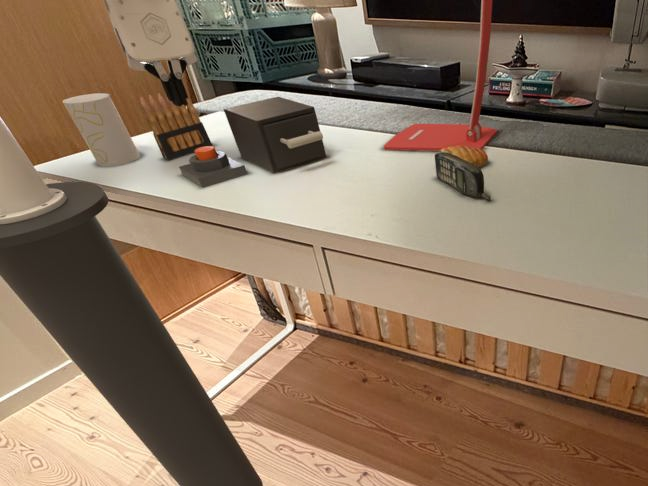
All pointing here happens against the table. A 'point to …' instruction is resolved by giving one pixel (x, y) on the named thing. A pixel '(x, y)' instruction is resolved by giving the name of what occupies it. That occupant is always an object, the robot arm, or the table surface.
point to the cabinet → (251, 133)
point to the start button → (206, 153)
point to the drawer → (294, 140)
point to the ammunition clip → (175, 128)
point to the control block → (212, 169)
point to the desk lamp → (455, 133)
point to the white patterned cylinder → (102, 128)
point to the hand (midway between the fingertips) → (180, 104)
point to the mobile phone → (460, 174)
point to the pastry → (468, 154)
